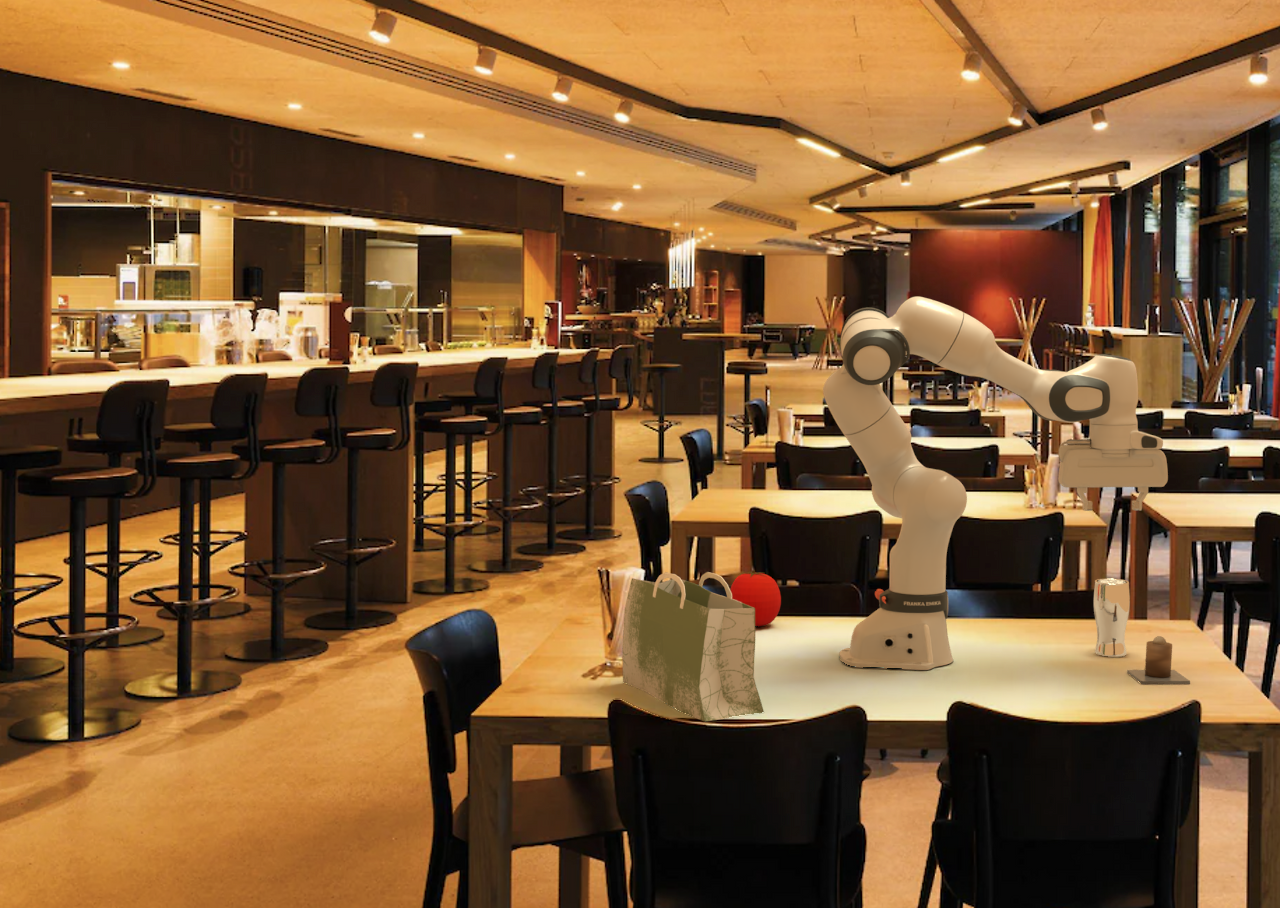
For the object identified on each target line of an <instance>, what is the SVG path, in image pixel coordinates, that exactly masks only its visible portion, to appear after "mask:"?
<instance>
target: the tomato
mask: <svg viewBox="0 0 1280 908" xmlns="http://www.w3.org/2000/svg"><path fill="white" fill-rule="evenodd" d="M729 589H730V591H731V593H732V599H734V600H737V601H739V602H741V603H744V604H746V605H749V606H751V607H753V608H755V626H758V627H763V626H767V625H769V624H771V623H773V621H775V619H776V618H777V616H778V614H779V612H780V609H781V605H782V595H781V591H780V588H779V586H778V583H777V581H776V580H775V579H774V578H772V576H770V575H768V574H765V572H763V571H762V572H756V570H754V569H753V570H752V571H749V572H744V573H740V574H738V576H737V577H736V578H735V579H734V581H732V584H731V586H730V588H729Z"/></svg>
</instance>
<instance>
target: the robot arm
mask: <svg viewBox="0 0 1280 908" xmlns="http://www.w3.org/2000/svg"><path fill="white" fill-rule="evenodd" d="M840 331H841V332H840V351H841V358H842V363H843V364H842V366H840V367H839V368H838V369H837V370H835V371H834V372H833V373H831V374H830V375H829V376H828V377H827V379H826V380H825V381H824V384H823V387H822V394H823V397H824V400H825V403H826V405H827V407H828V410H829V412H830V414H831V415H832V418H833V419H834V421H835V423H836V424H837V426H838V429H840V431H841V433H842V434H843V435H844V437H845V438H846V440H847V442H848V443H849V445H850V446H851V447H852V449H853V450H854V452H855V454H856V455H857V456H858V458H859V459H860V461H861V462H862V464H863V466H864V468H865V470H866V473H867V475H868V478H869V480H870V483H871V485H872V486H871V494H872V498H873V500H874V502H875V504H877V506H878V507H879V508H880V509H881V510H883V511H885V513H887V514H889V515H890V516H893V517H895V518H899V519H901V527H900V532H899V535H898V538H897V541H896V543H895V544H894V545H893V546H892V547H891V549H890V551H889V588H888V589H886V590H885V591H884V590H883V589H881V588H877V589H876V591H874V597H875V598H876V599H877V600H878V604H879V605H878V607H879V608H877V610H875V611H873V612H872V613H871V614H870V615H869V616H867V617H866V618H864V619H863V620H862V621H860V622H859V623H857V624H856V625H855V626H854V629H853V632H852V634H851V639H850V644H849V647H845V648H843V649H841V650H840V652H839V656H840V658H839V660H840V659H841V660H840V662H841V661H842V662H844V663H845V664H844V663H843V664H844V665H846V664H847V665H846V666H848V665H850V666H849V667H851V666H856V667H855V668H863V667H884V668H883V669H887V668H902V669H901V670H912V671H915V670H916V671H928V670H932V669H933V668H937V667H941V666H946V665H948V664H951V663H952V662H954V657H953V655H952V650H951V646H950V640H949V634H948V627H947V625H948V624H947V619H948V615H949V594H948V591H947V590H946V583H947V582H946V580H947V579H946V578H947V577H946V575H947V554H948V553H947V552H948V549H949V548H948V547H949V543H950V538H951V536H952V532H953V528H954V526H955V524H956V522H957V520H958V519H960V518H961V516H962V515H963V513H964V512H965V510H966V507H967V505H968V503H967V502H968V498H967V497H968V495H967V491H966V488H965V486H964V484H962V482H961V481H960V480H959V479H957V478H956V477H954V475H952V474H950V473H948V472H946V471H944V470H941V469H935V468H929V467H926V466H924V465H923V464H922V463H921V462H920V461H919V460H918V459H917V456H916V455H915V452H914V449H913V447H912V444H911V442H912V434H911V430H910V429H909V428H908V426H907V425H906V423H905V422H904V421H903V419H902V418H901V415H900V414H899V413H898V411H897V409H896V408H895V407H894V405H893V404H892V402H891V401H890V399H889V398H888V396H887V395H886V393H885V392H884V390H883V389H882V387H881V384H883V383H884V382H886V381H887V380H889V379H890V378H891V377H892V376H894V375H895V373H896V372H898V370H899V369H900V368H901V367H903V365H904V364H905V363H907V362H908V361H909V360H910V355H915V356H918V357H921V358H923V359H925V360H927V361H930V362H932V363H933V364H936V365H937V366H939V367H941V368H944V369H945V370H949V371H952V372H955V373H956V374H957V373H958V374H959V375H960V374H961V375H963V376H969V377H976V378H982V379H985V380H988V381H990V382H992V383H993V384H995V385H997V386H999V387H1001V388H1003V389H1005V390H1007V391H1009V392H1011V393H1013V394H1014V395H1017V397H1020V398H1021V399H1022V401H1024V402H1025V404H1026V405H1027V406H1028V407H1029V409H1031V411H1032V412H1033V413H1034V414H1035V415H1036V416H1037V417H1038V418H1040V419H1043V420H1046V421H1050V422H1062V423H1071V424H1073V423H1079V422H1082V421H1087V420H1089V435H1088V436H1089V438H1081V439H1074V438H1073V439H1072V438H1070V439H1066V441H1063V442H1061V444H1059V446H1058V458H1059V462H1060V463H1059V469H1058V476H1057V477H1058V480H1057V481H1058V483H1059V484H1060V485H1061V486H1062V487H1064V488H1076V493H1077V495H1078V497H1079V498H1080V500H1081V501H1082V511H1084V512H1088V511H1089V512H1091V511H1093V504H1094V503H1093V501H1092V500H1088V498H1087V497H1086V496H1087V495H1085V494H1087V493H1088V488H1137V492H1138V493H1139V494H1138V495H1137V497H1136V500H1135V499H1134V500H1131V510H1132V511H1142V509H1143V502H1144V500H1145V498H1146V496H1148V494H1149V488H1151V487H1152V488H1162V487H1165V485H1166V484H1167V483H1168V480H1169V475H1168V474H1169V473H1168V471H1169V470H1168V463H1167V457H1166V455H1165V453H1164V451H1162V450H1161V449H1162V448H1163V446H1164V440H1163V439H1162V438H1161V437H1159V436H1156V435H1152V434H1150V433H1148V432H1145V431H1141V430H1140V431H1139V428H1138V418H1137V413H1136V412H1137V411H1136V410H1137V406H1138V404H1139V403H1138V402H1139V380H1138V371H1137V367H1136V364H1135V362H1133V360H1132V359H1130V358H1128V357H1125V356H1120V355H1115V354H1107V353H1106V354H1104V353H1099V354H1096V355H1095V356H1093V357H1092V359H1090V360H1088V361H1087V362H1085V363H1083V364H1081V365H1079V366H1078V367H1075V368H1073V369H1070V370H1068V371H1062V370H1059V369H1058V370H1057V369H1040V368H1037V367H1034V366H1032V365H1031V364H1028V363H1026V362H1024V361H1023V360H1021V359H1019V358H1017V357H1014V356H1013V355H1011V354H1009V353H1007V352H1005V351H1004V350H1003V349H1001V347H999V345H998V344H997V342H996V339H995V338H996V337H995V335H994V333H993V331H992V330H991V329H990V328H988V327H987V326H986V325H985V324H984V323H983V322H981V321H979V320H978V319H977V318H975V317H973V316H971V315H969V314H968V313H965V312H964V311H962V310H959V309H958V308H956V307H953V306H951V305H948V304H945V303H944V302H940V301H937V300H934V299H931V298H927V297H923V296H920V295H919V296H912V297H910V298H908V299H906V300H905V301H904V302H903V303H901V304H900V306H899V307H898V309H897V311H896V312H895V313H894V314H893V315H892V316H889V315H888V314H887V313H885V312H884V311H883V310H880V309H878V308H876V307H862V308H859V309H856V310H854V311H853V312H851V314H850V315H848V316H847V318H846V320H845V321H844V323H843V324H842V327H841V330H840ZM842 662H841V663H842Z"/></svg>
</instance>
